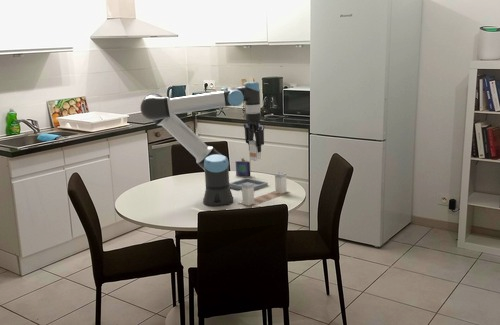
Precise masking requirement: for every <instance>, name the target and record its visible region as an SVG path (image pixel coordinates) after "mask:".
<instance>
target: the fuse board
mask: <svg viewBox="0 0 500 325" xmlns="http://www.w3.org/2000/svg"><path fill="white" fill-rule="evenodd" d="M290 193H291V191H287V192H285V193H283V194H280V193H276V190H274V191H271V192H268V193H266V194H263V195H260V196H257V197H254V204H251V205H249V206H248V205H245V204H243V201H241V202H239V203H238V205H242V206H245V207H249V208H251V207H254V206H257V205H259V204H260V205H261V204H262V203H265V202H267V201H270V200H273V199H276V198H279V197H281V196H284V195H288V194H290Z"/></svg>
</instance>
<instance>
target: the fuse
mask: <svg viewBox="0 0 500 325" xmlns="http://www.w3.org/2000/svg"><path fill="white" fill-rule="evenodd" d="M254 198H255V190H254V184H253V183H249V182H247V183H244V184H242V190H241V199H242V200H241V202H243V204H245V205H248V206H249V205H251V204H254ZM245 205H244V206H245ZM248 206H247V207H248Z"/></svg>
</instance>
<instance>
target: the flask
mask: <svg viewBox="0 0 500 325" xmlns="http://www.w3.org/2000/svg"><path fill="white" fill-rule="evenodd" d="M250 163H251V162H250V160H247V159H246V160H245V157H242V158H241V160H235V175H236V176H237V177H246V178H249V177H251V164H250Z"/></svg>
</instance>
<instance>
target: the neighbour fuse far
mask: <svg viewBox="0 0 500 325" xmlns="http://www.w3.org/2000/svg"><path fill="white" fill-rule="evenodd" d="M274 180H275V181H274V182H275V185H274V187H275V191H276V193H280V194H283V193H285V192H288V191H287V172H280V171H279V172H277V173H274Z"/></svg>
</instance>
